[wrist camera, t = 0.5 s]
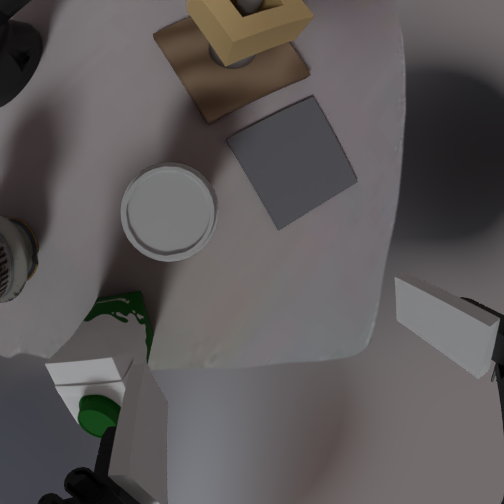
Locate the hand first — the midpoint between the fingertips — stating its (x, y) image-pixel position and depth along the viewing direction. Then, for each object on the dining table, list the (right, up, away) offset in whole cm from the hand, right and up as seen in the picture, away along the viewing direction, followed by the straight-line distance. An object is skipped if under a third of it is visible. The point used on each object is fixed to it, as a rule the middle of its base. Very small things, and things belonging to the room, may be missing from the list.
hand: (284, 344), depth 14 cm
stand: (-4, +32, +20) cm, 38 cm away
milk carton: (-20, -5, +26) cm, 33 cm away
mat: (+4, +17, +26) cm, 31 cm away
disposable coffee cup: (-11, +10, +24) cm, 29 cm away
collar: (-3, +30, +12) cm, 32 cm away
